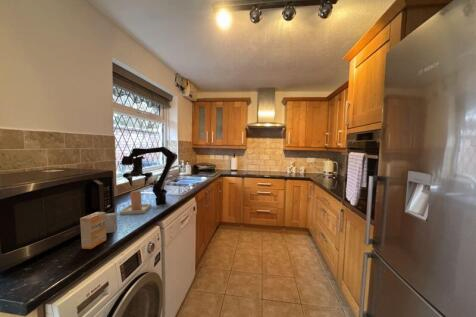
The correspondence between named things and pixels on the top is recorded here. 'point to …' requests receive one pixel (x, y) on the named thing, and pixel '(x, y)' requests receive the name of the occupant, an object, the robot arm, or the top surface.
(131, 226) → the top surface
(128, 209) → the tray
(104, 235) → the supplement box
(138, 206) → the reddish-brown tall piece
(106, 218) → the medicine box
